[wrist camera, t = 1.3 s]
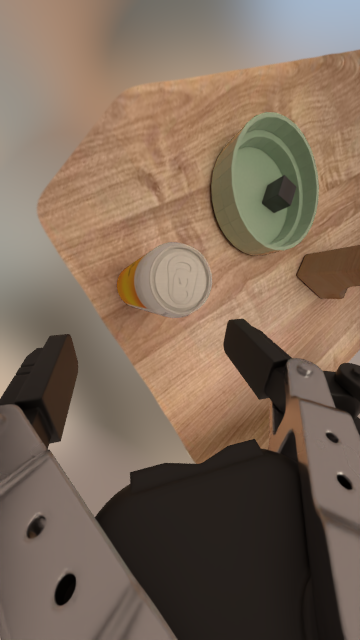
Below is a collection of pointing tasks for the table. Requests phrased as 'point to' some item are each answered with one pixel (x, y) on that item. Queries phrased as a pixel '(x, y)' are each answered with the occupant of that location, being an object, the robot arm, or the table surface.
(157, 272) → the beer can
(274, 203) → the block
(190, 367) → the table surface
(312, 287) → the decorative block
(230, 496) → the robot arm
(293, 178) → the bowl
